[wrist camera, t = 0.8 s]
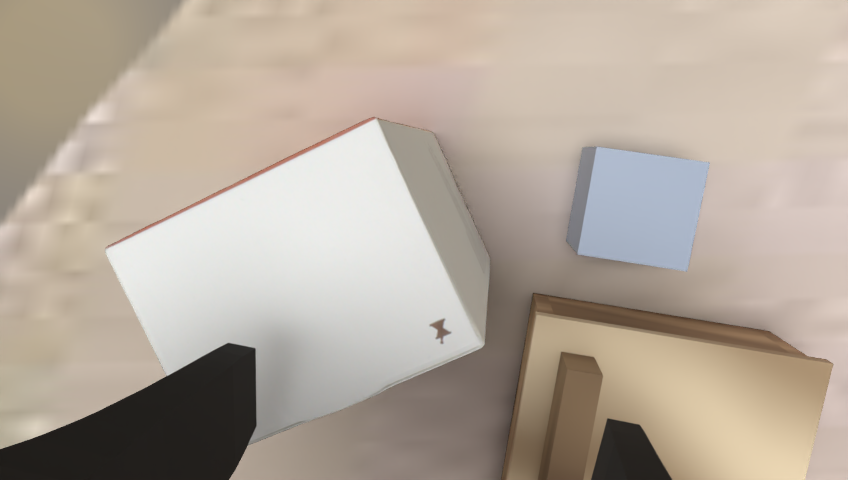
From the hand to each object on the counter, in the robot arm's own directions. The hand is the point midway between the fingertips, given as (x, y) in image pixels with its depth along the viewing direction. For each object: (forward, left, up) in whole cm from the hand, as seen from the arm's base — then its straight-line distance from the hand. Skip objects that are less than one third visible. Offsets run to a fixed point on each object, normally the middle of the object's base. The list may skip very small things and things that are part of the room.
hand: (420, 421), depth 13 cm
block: (+4, -6, -16) cm, 18 cm away
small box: (+1, +4, -16) cm, 17 cm away
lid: (-6, -8, -11) cm, 15 cm away
